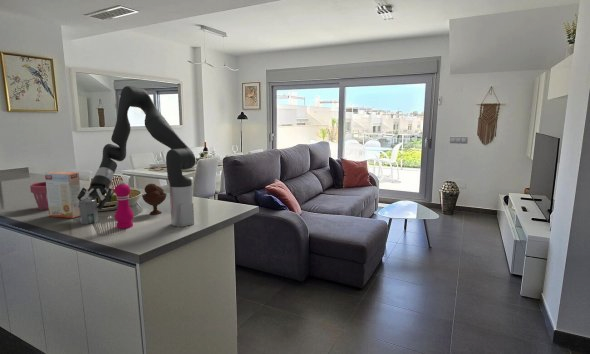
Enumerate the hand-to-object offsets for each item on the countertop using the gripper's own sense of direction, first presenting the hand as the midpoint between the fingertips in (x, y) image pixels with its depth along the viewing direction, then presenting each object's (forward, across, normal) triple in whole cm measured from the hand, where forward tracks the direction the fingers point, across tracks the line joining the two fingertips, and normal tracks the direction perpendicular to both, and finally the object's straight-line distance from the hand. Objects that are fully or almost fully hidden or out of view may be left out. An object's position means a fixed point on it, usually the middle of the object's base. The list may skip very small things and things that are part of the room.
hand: (89, 208), depth 152 cm
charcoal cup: (+5, 0, +4) cm, 6 cm away
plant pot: (-12, -36, +20) cm, 43 cm away
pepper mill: (+9, +19, 0) cm, 21 cm away
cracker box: (-1, -17, +10) cm, 20 cm away
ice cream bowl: (-6, +23, +15) cm, 28 cm away
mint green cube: (+5, 0, +4) cm, 6 cm away
